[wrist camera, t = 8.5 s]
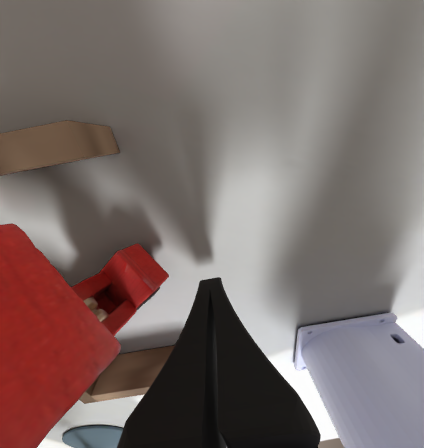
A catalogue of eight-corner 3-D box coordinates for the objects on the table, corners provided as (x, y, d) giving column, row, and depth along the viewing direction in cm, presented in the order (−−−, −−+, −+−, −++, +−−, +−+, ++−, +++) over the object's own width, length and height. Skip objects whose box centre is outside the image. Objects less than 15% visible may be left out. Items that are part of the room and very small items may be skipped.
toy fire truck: (74, 314, 14) (-262, 547, 5) (176, 200, 10) (-532, 266, 1) (101, 344, 14) (-191, 638, 5) (213, 239, 10) (-179, 728, 1)
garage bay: (110, 126, 8) (66, 120, 6) (196, 348, 17) (195, 386, 15) (-83, 164, 9) (-212, 176, 6) (102, 363, 18) (84, 403, 15)
